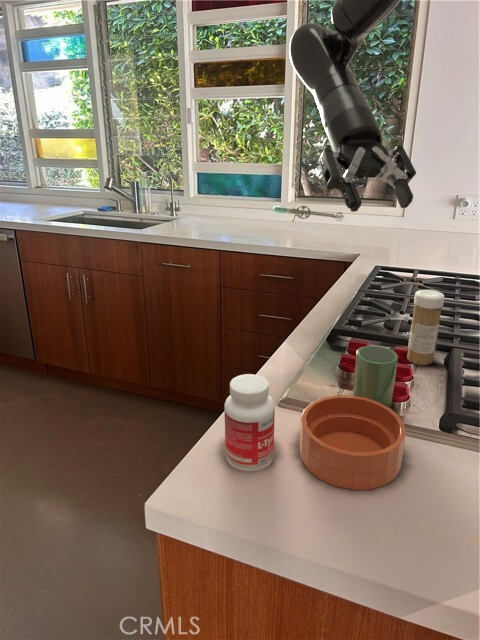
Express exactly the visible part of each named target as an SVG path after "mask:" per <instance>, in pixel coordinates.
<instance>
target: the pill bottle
mask: <svg viewBox="0 0 480 640" xmlns="http://www.w3.org/2000/svg"><path fill="white" fill-rule="evenodd" d="M275 406H276V405H275V402H274V399H273V398H272V397H271V395H270V383H269V381H268V379H266V378H265V377H264V376H261V375H259V374H252V373H246V374H245V373H244V374H240V375H237V376H235V377H233V378H232V379H231V380H230V382H229V396H227V397H226V400H225V402H224V409H223V411H224V437H225V438H224V443H225V446H224V447H225V459H226V461H227V463H228V464H229V465H230V466H231V467H233V468H234V469H236V470H239V471H243V472H258V471H261V470H263V469H265V468H267V467H268V466H270V465H271V463H272V462H273V460H274V456H275V455H274V454H275V412H276V411H275V408H276V407H275Z"/></svg>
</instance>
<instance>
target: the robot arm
mask: <svg viewBox="0 0 480 640" xmlns="http://www.w3.org/2000/svg"><path fill="white" fill-rule="evenodd" d="M401 1H402V0H336V1H335V2H334V3H333V6H332V8H331V13H330V17H331V22H332V24H333V27H334V29H335V31H334V30H333V29H329V28H327V27H325V26H323V25H320V24H317V23H314V22H306V23H304V24H301V25H300V26H298V27H297V29H296V30H295V31H294V32H293V34H292V36H291V38H290V42H289V49H288V50H289V59H290V63H291V65H292V68H293V70H294V71H295V73H296V74H297V75H298V77H299V79H300V80H301V81H302V83H303V84H304V85H305V87H306V88H307V89H308V90H309V91H310V92H311V94H312V95H313V97H314V100H315V103H316V105H317V109H318V110H319V111H318V112H319V114H320V118H321V123H322V126H323V129H324V131H325V134H326V137H327V139H328V142H329V144H330V147H331V148H330V147H329V146H328V147H324V149H323V151H322V153H321V155H320V157H319V159H318V164H319V167H320V171H321V175H322V177H323V181H324V185H325V187H326V189H327V190H329V191H332V190H334V189H335V190H338V192H339V193H341V196H342V198H343V200H344V203H345V206H346V207H347V208H348V209H349V210H350V212H352V213H353V212H355V213H356V212H358V211H359V209H360V208H361V206H362V199H361V196H360V194H359V191H358V188H357V186H356V184H355V182H352V181H353V179H354V177H355V178H357V179H364V178H370V179H373V178H376V179H377V180H378V181H380V182H381V183H387V184H388V185H390V186H391V187H392V188H393V193H394V195H395V198H396V200H397V202H398V204H399V207H400V208H401V209H406V208H408V207H409V206H410V205H411V203H412V202H413V200H414V194H413V192H412V190H411V187H410V185H409V184H410V182H411V181H412V179H413V178H414V177H415V176H416V175H417V171H416V169H415V167H414V165H413V163H412V161H411V159H410V158H409V156H408V154H407V152H406V150H405V148H404V146H403V145H401V144H397V145H396V146H395V148H393V149H387V148H386V146H384V145H383V143H382V134H381V130H380V128H379V125H378V122H377V121H376V118H375V116H374V114H373V111H372V108H371V107H370V104H369V102H368V100H367V98H366V97H365V95H364V94H363V92H362V91H361V89H360V87H359V84H358V82H357V79H356V76H355V74H354V72H353V71H352V70H351V68H350V67H349V65H350V62H351V61H352V59H353V58H354V56H355V54H356V53H357V52H358V50H359V48H360V47H361V46H362V43H363V42H364V40H365V39H366V37H367V35H368V34H370V32H372V31H373V30H374V29H375V28H376V27H377V26H378V25H379V24H380V23H381V22H382V21H383V20H385V18H386V17H387V16H388V15H390V13H391V12H392V11H393V10H394V9H395V8H397V6H398V5H399V4H400V2H401ZM338 165H339V166H340V167H342V169H344V170H345V171H344V174H343V175H342V176H340V172H339V169H338ZM385 166H386V167H387V170H385V172H382V171H383V169H384V168H385ZM394 176H395V177H396V178H395V177H394Z"/></svg>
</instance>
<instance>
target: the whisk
mask: <svg viewBox="0 0 480 640" xmlns="http://www.w3.org/2000/svg"><path fill="white" fill-rule="evenodd" d="M305 209H307V210H305ZM272 211H273V212H274V213H277V214H289V215H293V217H292V219H291V222H292V223H294V222H295V219H296V218H295V217H297V218H299V219H302V220H305V219H308V218H309V217H310V216H320V217H328V218H333V219H334V220H336V221H337V222H342V221H343V220H344V218H345V216H344V215H343V213H342V212H340V211H339V212H334V213H328V212H320V211H319V212H318V211H311V209H310V207H308V206H306V205H300V206H297V208H293V207H286V206H282V205H275V206H273V208H272ZM303 216H305V217H303Z"/></svg>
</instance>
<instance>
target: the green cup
mask: <svg viewBox="0 0 480 640" xmlns="http://www.w3.org/2000/svg"><path fill="white" fill-rule="evenodd" d="M398 360H399V356H398V354H397V352H395V351H394V350H393V349H390V348H388V347H385V346H381V345H366V346H362V347H359V348H358V349H357V350H356V353H355V363H354V365H355V366H354V376H353V384H352V385H353V387H352V396H357V397H363V398H367V399H370V400H373V401H376V402H379V403H381V404H383V405H385V406H386V407H388V408H390V409H391V408H392V405H393V398H394V391H395V383H396V375H397V370H398V369H397V368H398Z"/></svg>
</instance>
